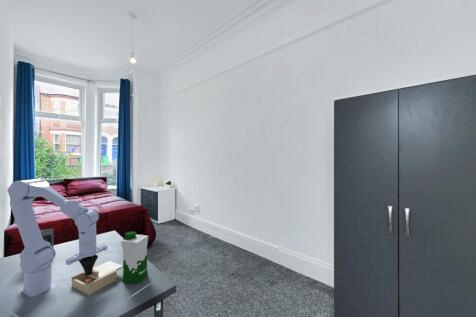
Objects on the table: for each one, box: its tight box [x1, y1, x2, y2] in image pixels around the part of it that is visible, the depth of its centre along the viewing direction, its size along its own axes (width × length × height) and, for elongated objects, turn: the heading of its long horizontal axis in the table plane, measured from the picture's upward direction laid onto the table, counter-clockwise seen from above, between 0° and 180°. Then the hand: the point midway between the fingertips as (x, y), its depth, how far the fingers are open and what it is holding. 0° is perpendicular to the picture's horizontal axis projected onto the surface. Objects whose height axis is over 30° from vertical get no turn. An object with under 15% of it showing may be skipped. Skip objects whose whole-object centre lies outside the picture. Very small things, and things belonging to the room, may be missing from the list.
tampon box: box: [40, 228, 55, 263], centre depth 108 cm, size 11×9×15 cm
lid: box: [84, 260, 123, 280], centre depth 92 cm, size 10×11×3 cm
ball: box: [85, 278, 94, 284], centre depth 87 cm, size 3×3×3 cm
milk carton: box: [120, 231, 149, 285], centre depth 92 cm, size 9×9×20 cm
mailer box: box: [71, 263, 118, 296], centre depth 89 cm, size 12×11×5 cm
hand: (88, 274), depth 87 cm, fingers closed
